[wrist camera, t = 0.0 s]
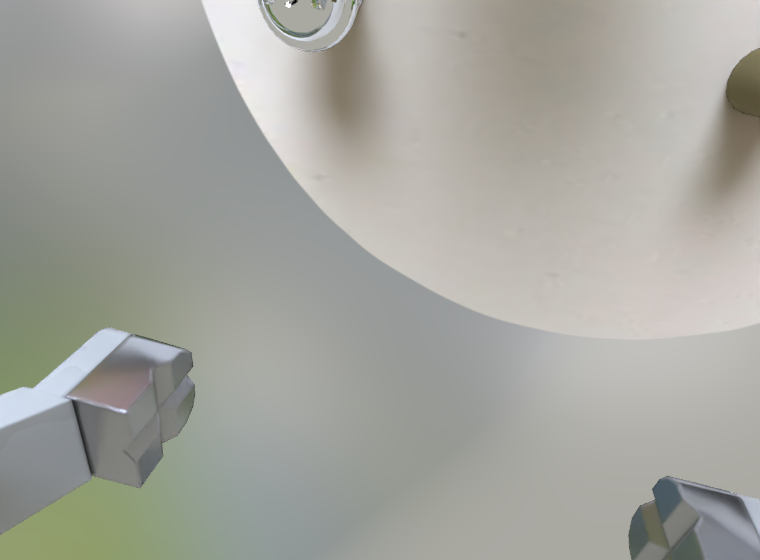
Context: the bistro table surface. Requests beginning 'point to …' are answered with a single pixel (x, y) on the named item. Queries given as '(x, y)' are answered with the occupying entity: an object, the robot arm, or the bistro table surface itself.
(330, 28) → the cup with straw
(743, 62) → the olive pawn
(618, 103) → the bistro table surface
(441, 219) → the bistro table surface
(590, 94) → the bistro table surface
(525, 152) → the bistro table surface
